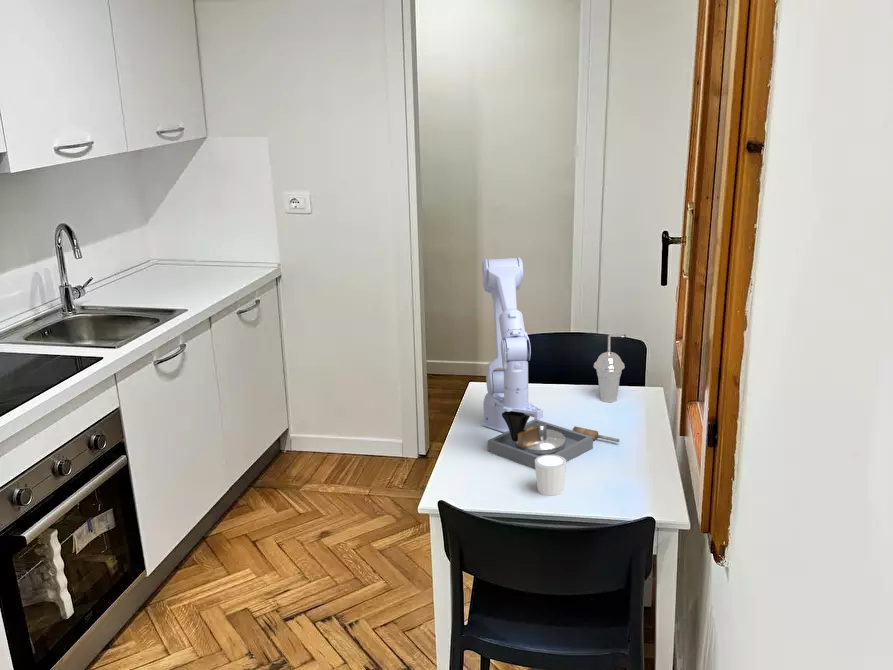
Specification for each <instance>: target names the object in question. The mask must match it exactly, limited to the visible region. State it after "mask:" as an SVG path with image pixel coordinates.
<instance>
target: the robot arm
mask: <svg viewBox="0 0 893 670" xmlns="http://www.w3.org/2000/svg"><path fill="white" fill-rule="evenodd" d="M481 264H482V265H481V268H482V269H481V273H482V285H483V286H482V287H483V289H484V292H486V293H488V294H490V295H491V299H492V302H493V317H494V333H495V336H494V337H495V338H494V339H495V355H496V356H495V357H494V358H493V359H492V360H491V361H490V362H489V363H488V364H487V366H486V375H485V381H486V391H487V393H485V395H484V399H483V404H482V406H483V422H482V423H481V425H482V426H483V427H486V428H489V429H492V430H495V431H498V432H501V433H502V434H503V433H505V432H507V431H510V434H511V438H512V440H513V441H515V442H517V441H518V433H519V432H522V431H524V428H525V425H526V423H527V422H529V419H530V417H531V418H533V420H534V419H536V420H540V419H543V417H544V415H543V414H544V413H543V412H544V410H543V409H542V408H538V407H537V406H536V405H534V404H532V403H530V402H529V362H528V361H531V355H532V352H531V351H532V350H531V348H532V347H531V341H530V338H529V336H528V333H527V332H526V329H525V322H524V315H523V313H522V312H521V311H520V310H518V308H517V305H518V303H517V291H518V290H520V287H521V285H522V281H523V279H524V263H523V259H522V258H521V257H519V256H517V257H508V258H507V257H505V258H489V259H488V258H483V261H482V263H481Z"/></svg>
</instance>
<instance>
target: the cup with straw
mask: <svg viewBox="0 0 893 670" xmlns="http://www.w3.org/2000/svg"><path fill="white" fill-rule="evenodd" d="M611 337H612V338H626V334H624V333H623V334H619V333H610V334H609V335H607V351H605V352H602V353H601V354H600V355H598V358H597V360H596V361H595V362H594V363H593V368H594V370H596V376H597V378H598V379H597V380H598V391H599V396H600V399H599V400H600V401H602V402H603V403H614V402H617V400H618V395H619V386H620V379H621V376H622V370H624V369H625V367H626V366H625V363H624V362H623V361H622V359H621V356H619V355H618V354H617V353H616V352H614V351H613V352H612V351H611Z"/></svg>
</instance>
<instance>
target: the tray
mask: <svg viewBox="0 0 893 670" xmlns="http://www.w3.org/2000/svg"><path fill="white" fill-rule="evenodd" d="M538 422H542V423H545V424H546V429H550V430H554V431H557V432H560V433H562V434H563V435H564V436H565V447H564V449H562V450H561V451H559V452H556V453H552V454H545V455H558V456H561V457H563V458H565V459H566V463H567V461H568V462H569V460H570V461H571V459H572V460H573V458H574V459H575V458H578V457H579V456H581V455H583V454H585V453H587V452H589V451H590V450H592V449H594V440H593V437H592V436H589V435H585V434H582V433H579V432H576V431H573V429H569V428H566V427H562V426H559V425H555V424H553V423H550V422H546V421H543V420H540V419H538V420H536V419H534V418H533V419H531V420H528V421H527V423H526V425H525V428H524V430H526V429H528V428H530V427H533V426H534V424H535V423H538ZM487 452H488V453H489V454H490V453H491V454H493V455H496V456H498V457H499V456H500V458H501V457H502V458H504V459H506V460H510V461H513V462H515V463H517V464H521V465H524V466H526V467H529V468H532V469H535V459H536V458H537V457H539V456H542V455H537V454H532V453H529V452H526V451H523V450H520V449H518V448H517V447H516V442H515V441H513V440H512V438H511V434H510V431H507V432H505V433H503V432H502V433H500V434H499V435H496V436H494V437H491V438H490V439H488V440H487ZM535 470H536V469H535Z"/></svg>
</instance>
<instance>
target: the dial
mask: <svg viewBox="0 0 893 670" xmlns="http://www.w3.org/2000/svg"><path fill="white" fill-rule="evenodd" d="M516 447H517V448H518V449H520V450H523V451H526V452H529V453H532V454H537V455H545V454H552V453H556V452H559V451H561V450H562V449H564V447H565V436H564V435H563V434H562V433H560V432H557V431H554V430H550V429H546V424H545V423H542V422H538V423H535V424H534V426H533V427H530V428H528V429H526V430H524V431H522V432H519V433H518V441H517V442H516Z"/></svg>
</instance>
